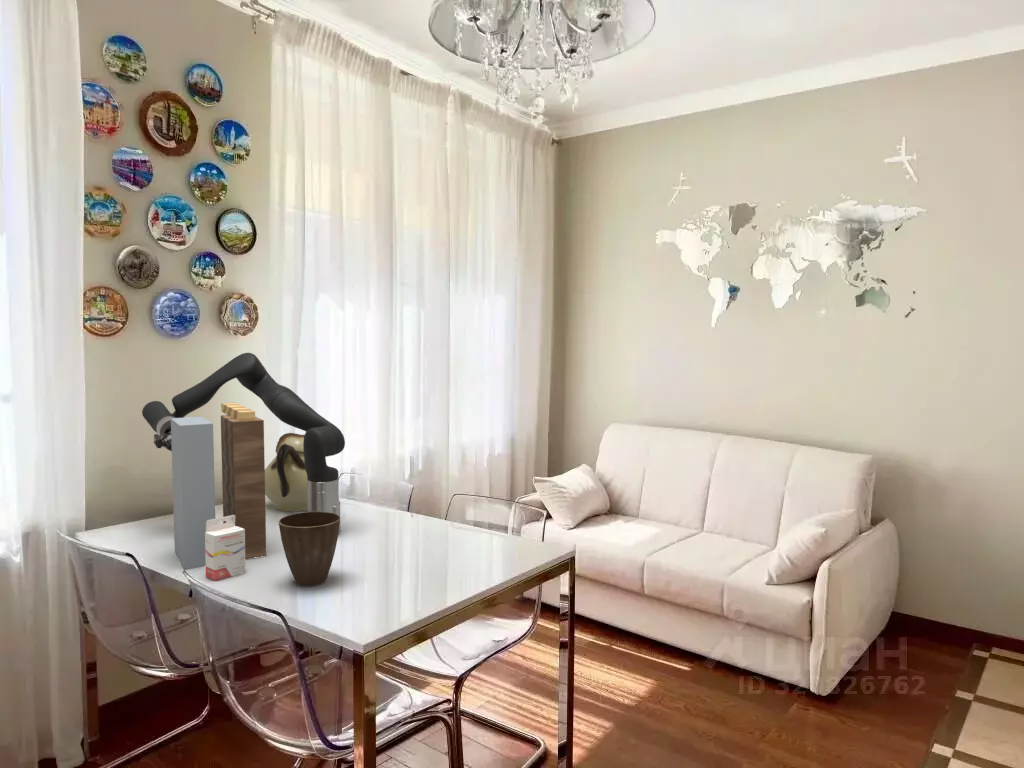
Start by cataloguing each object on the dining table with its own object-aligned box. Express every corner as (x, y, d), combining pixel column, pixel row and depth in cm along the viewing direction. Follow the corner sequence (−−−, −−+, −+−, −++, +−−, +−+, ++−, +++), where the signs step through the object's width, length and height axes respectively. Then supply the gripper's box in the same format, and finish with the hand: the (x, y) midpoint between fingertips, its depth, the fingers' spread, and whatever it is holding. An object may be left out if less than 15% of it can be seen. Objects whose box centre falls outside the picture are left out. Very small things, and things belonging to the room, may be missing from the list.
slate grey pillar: (174, 552, 205) (170, 418, 202) (205, 548, 209) (201, 416, 206) (184, 569, 192) (180, 425, 188) (216, 564, 196) (212, 423, 193)
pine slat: (221, 411, 217) (221, 403, 217) (235, 410, 220) (235, 402, 219) (239, 421, 197) (239, 412, 197) (255, 420, 199) (255, 411, 199)
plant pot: (268, 580, 184) (267, 518, 183) (321, 566, 195) (320, 508, 193) (298, 596, 174) (297, 530, 172) (352, 581, 184) (351, 519, 183)
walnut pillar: (223, 545, 212) (220, 415, 209) (252, 541, 216) (249, 413, 213) (236, 561, 199) (233, 422, 195) (266, 556, 203) (263, 420, 200)
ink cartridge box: (215, 581, 183) (213, 524, 182) (205, 577, 186) (203, 520, 185) (246, 572, 190) (245, 517, 188) (236, 568, 193) (235, 513, 192)
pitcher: (312, 495, 272) (310, 429, 269) (341, 509, 254) (340, 438, 251) (252, 505, 258) (250, 435, 255) (278, 520, 240) (276, 445, 237)
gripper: (147, 420, 218) (162, 436, 206) (197, 417, 227) (214, 432, 215) (146, 444, 219) (161, 461, 207) (196, 441, 228) (213, 457, 216)
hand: (188, 446), depth 211 cm, fingers open, 8 cm apart
